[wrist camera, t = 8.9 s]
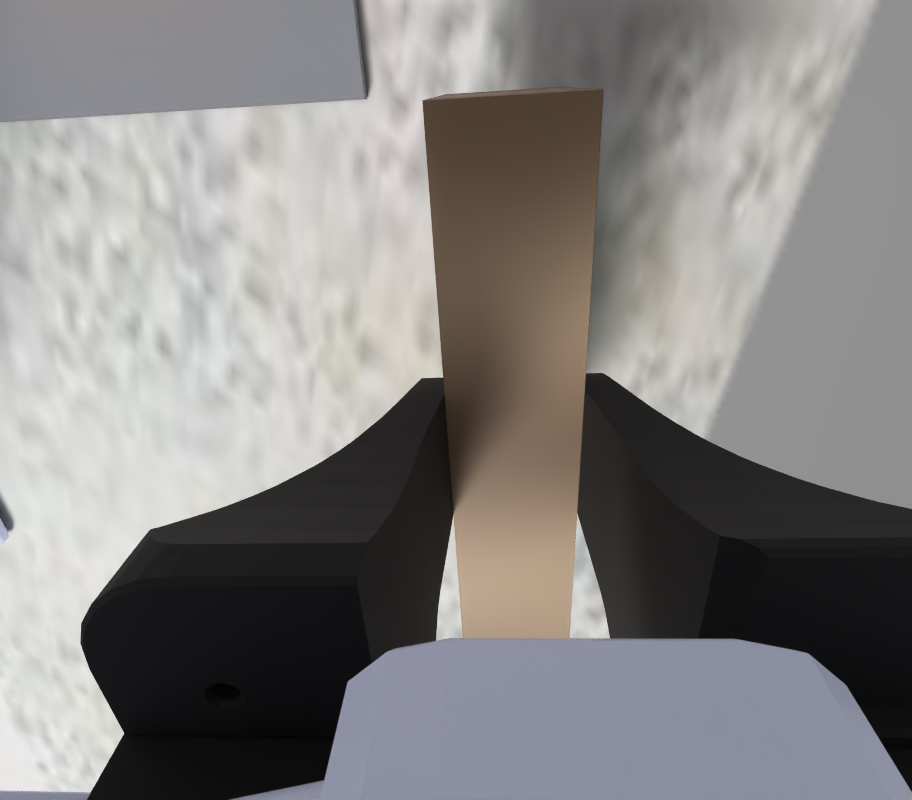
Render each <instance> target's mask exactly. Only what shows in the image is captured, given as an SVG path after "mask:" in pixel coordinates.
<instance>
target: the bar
mask: <svg viewBox="0 0 912 800" xmlns="http://www.w3.org/2000/svg"><path fill="white" fill-rule="evenodd" d="M602 104H603V89H588V88H567V87H555V88H539V89H523V90H507V91H492V92H476V93H460V94H445V95H442V96H438V97H434V98H430V99H427V100H423V113H424V126H425V140H426V153H427V166H428V180H429V193H430V206H431V220H432V233H433V246H434V260H435V273H436V286H437V300H438V313H439V327H440V340H441V353H442V367H443V380H444V393H445V407H446V420H447V433H448V447H449V460H450V473H451V487H452V500H453V513H454V527H455V540H456V553H457V567H458V580H459V593H460V607H461V620H462V633H463V638H569V636H570V620H571V604H572V588H573V571H574V555H575V539H576V523H577V507H578V491H579V475H580V458H581V442H582V426H583V410H584V394H585V378H586V362H587V346H588V329H589V313H590V297H591V281H592V265H593V249H594V233H595V217H596V200H597V184H598V168H599V152H600V136H601V120H602Z"/></svg>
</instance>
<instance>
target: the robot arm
mask: <svg viewBox="0 0 912 800" xmlns="http://www.w3.org/2000/svg"><path fill="white" fill-rule="evenodd" d="M577 513H578V517H579V520H580V523H581V527H582V530H583V534H584V537H585V540H586V544H587V547H588V550H589V554H590V557H591V561H592V564H593V567H594V571H595V574H596V577H597V581H598V584H599V587H600V591H601V595H602V599H603V603H604V607H605V612H606V617H607V623H608V628H609V634H610V639H573V638H449V639H444V640H439V641H436V630H437V614H438V604H439V596H440V589H441V583H442V577H443V571H444V565H445V560H446V554H447V548H448V542H449V537H450V531H451V525H452V519H453V500H452V487H451V473H450V460H449V447H448V433H447V420H446V407H445V393H444V380H443V378H422V379H421V380H420V381H419V382H418V383H417V384H416V385H415V386H414V387H413V388H412V389H411V390H409V391H408V393H407V394H406V395H405V396H404V397H403V398H402V399H401V400H400V401H399V402H398V403H397V404H396V405H395V406H393V407H392V408H391V409H390V410H389V411H388V412H387V413H386V414H385V415H384V416H383V417H382V418H381V419H379V420H378V421H377V422H376V423H374V424H373V425H372V426H371V427H370V428H368V429H367V430H366V431H365V432H364V433H362V434H361V435H360V436H359V437H358V438H356V439H355V440H354V441H352V442H351V443H350V444H348V445H347V446H345V447H344V448H342V449H341V450H340V451H338V452H336V453H335V454H333V455H332V456H330V457H329V458H327V459H325V460H324V461H322V462H321V463H319V464H317V465H316V466H314V467H312V468H310V469H308V470H306V471H304V472H302V473H300V474H298V475H296V476H294V477H293V478H291V479H289V480H287V481H285V482H283V483H281V484H279V485H277V486H275V487H273V488H270V489H268V490H266V491H263V492H261V493H259V494H256V495H254V496H252V497H249V498H247V499H244V500H241V501H239V502H236V503H234V504H231V505H228V506H226V507H223V508H220V509H217V510H214V511H211V512H208V513H205V514H201V515H198V516H195V517H192V518H188V519H185V520H182V521H179V522H175V523H172V524H169V525H166V526H162V527H158V528H154V529H151V530H150V531H149V532H148V533H147V534H146V535H145V537H144V538H143V539H142V540H141V542H140V543H139V544H138V545H137V547H136V548H135V549H134V550H133V552H132V553H131V554H130V556H129V557H128V558H127V559H126V561H125V562H124V563H123V565H122V566H121V567H120V568H119V570H118V571H117V572H116V573H115V575H114V576H113V577H112V579H111V580H110V581H109V582H108V584H107V585H106V586H105V588H104V589H103V590H102V591H101V593H100V594H99V595H98V597H97V598H96V599H95V600H94V602H93V603H92V604H91V606H90V608H89V610H88V612H87V613H86V615H85V617H84V619H83V621H82V623H81V646H82V649H83V652H84V655H85V657H86V660H87V663H88V666H89V669H90V671H91V673H92V674H93V676H94V678H95V680H96V682H97V684H98V685H99V687H100V689H101V691H102V693H103V695H104V697H105V698H106V700H107V702H108V704H109V706H110V708H111V709H112V711H113V713H114V715H115V717H116V719H117V720H118V722H119V724H120V726H121V728H122V730H123V732H124V735H123V737H122V739H121V740H120V742H119V744H118V746H117V748H116V749H115V751H114V753H113V755H112V756H111V758H110V760H109V762H108V763H107V765H106V767H105V769H104V770H103V772H102V774H101V776H100V777H99V779H98V781H97V783H96V784H95V786H94V788H93V790H92V791H91V793H86V792H39V791H0V800H912V509H908V508H904V507H899V506H895V505H890V504H885V503H880V502H876V501H873V500H869V499H865V498H861V497H858V496H854V495H851V494H846V493H843V492H840V491H836V490H833V489H829V488H826V487H822V486H819V485H816V484H813V483H810V482H806V481H803V480H800V479H797V478H794V477H792V476H789V475H786V474H784V473H781V472H778V471H776V470H773V469H770V468H768V467H765V466H762V465H759V464H757V463H754V462H752V461H750V460H747V459H745V458H743V457H740V456H738V455H736V454H734V453H732V452H730V451H728V450H725V449H723V448H721V447H719V446H717V445H715V444H713V443H711V442H709V441H707V440H705V439H703V438H701V437H699V436H697V435H696V434H694V433H692V432H690V431H689V430H687V429H685V428H684V427H682V426H680V425H679V424H677V423H675V422H673V421H672V420H670V419H669V418H667V417H666V416H664V415H662V414H661V413H659V412H658V411H656V410H655V409H653V408H652V407H650V406H649V405H648V404H646V403H645V402H643V401H642V400H640V399H639V398H638V397H636V396H635V395H633V394H632V393H631V392H629V391H628V390H627V389H625V388H624V387H622V386H621V385H620V384H618V383H617V382H615V381H614V380H613V379H611V378H610V377H608V376H607V375H605V374H603V373H588V374H586V378H585V394H584V410H583V426H582V442H581V458H580V475H579V491H578V507H577ZM8 537H9V535H8V531H7V529H6V528H5V526H4V524H3V522H2V520H1V519H0V545H2V544H3V543H4V542H5V541H6V540H7V539H8Z"/></svg>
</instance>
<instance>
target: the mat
mask: <svg viewBox="0 0 912 800" xmlns="http://www.w3.org/2000/svg"><path fill="white" fill-rule="evenodd" d="M359 99H367V93H366V84H365V75H364V67H363V58H362V49H361V40H360V31H359V23H358V14H357V5H356V0H0V122H11V121H26V120H42V119H58V118H74V117H90V116H106V115H122V114H137V113H153V112H169V111H185V110H201V109H217V108H233V107H248V106H264V105H280V104H296V103H312V102H328V101H344V100H359Z"/></svg>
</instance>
